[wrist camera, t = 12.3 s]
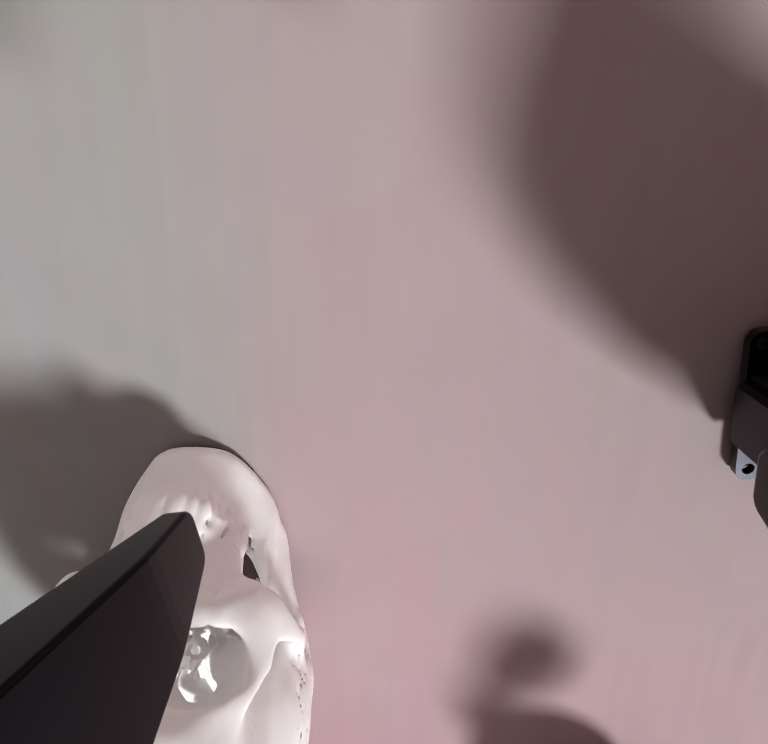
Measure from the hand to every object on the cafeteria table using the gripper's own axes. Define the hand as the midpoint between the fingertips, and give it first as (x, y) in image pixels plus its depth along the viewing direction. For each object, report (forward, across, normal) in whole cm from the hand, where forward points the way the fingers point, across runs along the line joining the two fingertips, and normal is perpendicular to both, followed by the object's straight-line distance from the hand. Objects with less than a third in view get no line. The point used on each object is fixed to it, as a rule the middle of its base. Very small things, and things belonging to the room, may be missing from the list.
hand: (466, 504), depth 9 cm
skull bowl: (+13, +12, +13) cm, 22 cm away
